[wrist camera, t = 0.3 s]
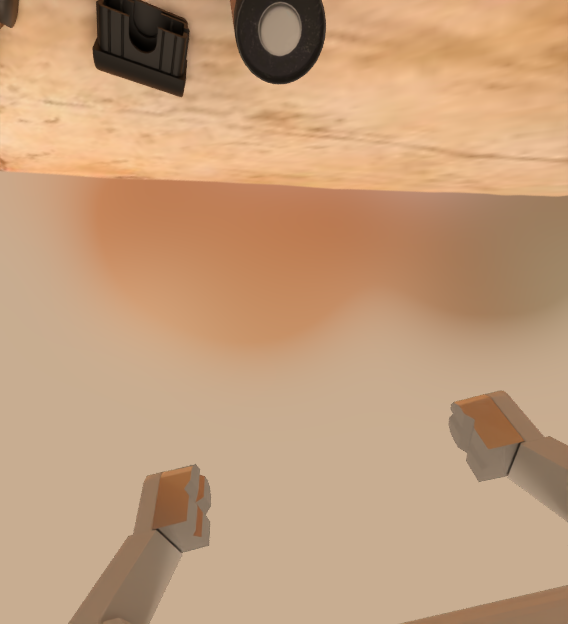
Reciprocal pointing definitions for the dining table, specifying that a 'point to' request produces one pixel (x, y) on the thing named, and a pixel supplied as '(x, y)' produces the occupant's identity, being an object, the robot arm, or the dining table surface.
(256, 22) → the travel mug
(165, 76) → the end cap
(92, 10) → the dining table surface
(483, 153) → the dining table surface
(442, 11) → the dining table surface
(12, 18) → the tray
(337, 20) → the dining table surface
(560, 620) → the robot arm
